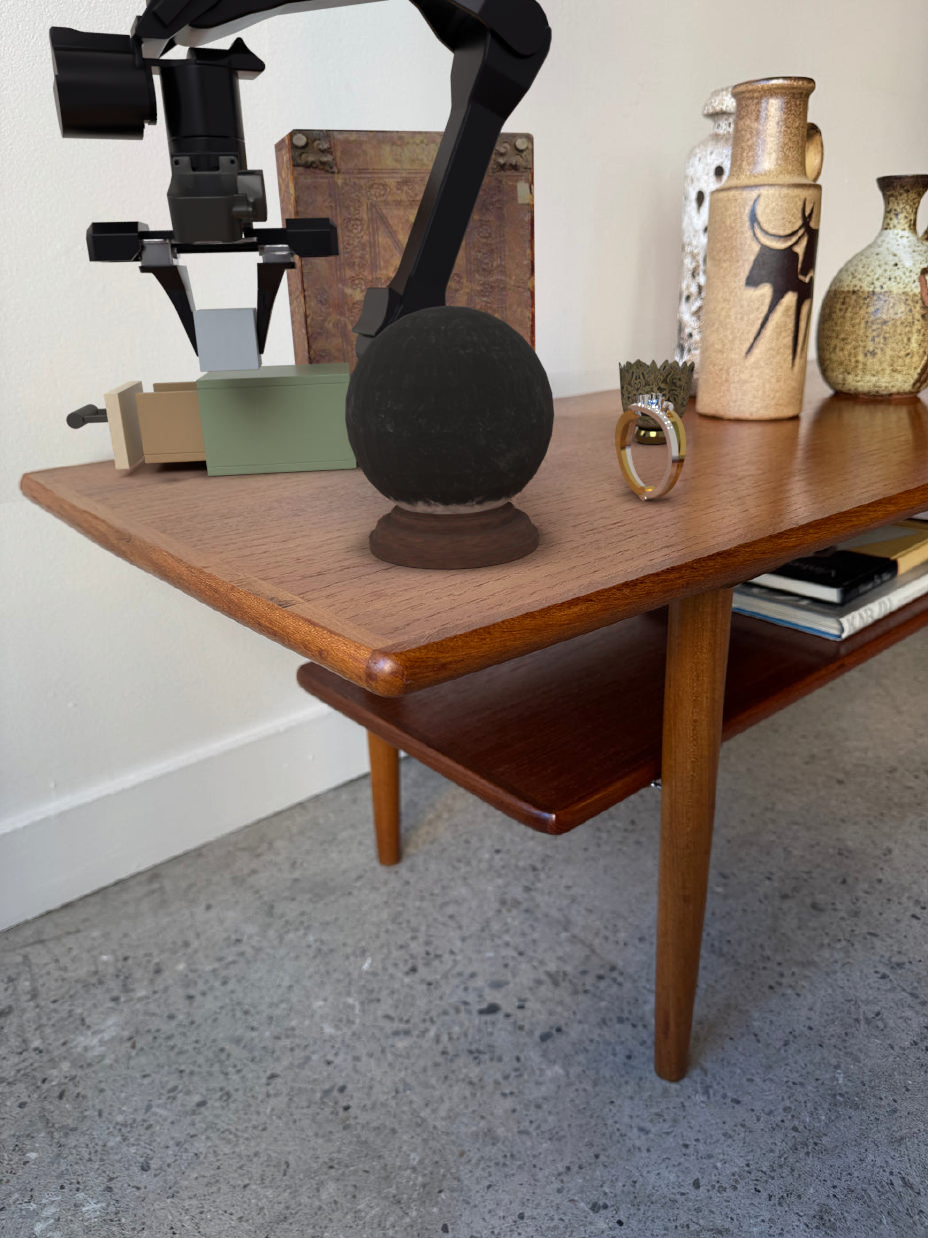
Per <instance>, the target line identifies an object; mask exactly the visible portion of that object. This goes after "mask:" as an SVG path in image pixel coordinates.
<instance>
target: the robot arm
mask: <svg viewBox="0 0 928 1238" xmlns="http://www.w3.org/2000/svg"><path fill="white" fill-rule="evenodd" d="M386 1H387V2H388V0H145V6H146V7H145V9H144V11H143V13H142V14H141V15H139V14H138V15H137V14H136V15H135V17H134V20H133V23H132V24H131V28H130V29H129V32H130V33H129V34H122V33H109V32H108V33H107V32H95V31H94V32H93V31H83V30H78V29H76V28H72V27H67V26H55V25H54V26H52V25H51V26H50V28H48V40H49V46H50V54H51V62H52V63H51V65H52V71H53V84H52V93H53V99H54V105H55V110H56V111H55V112H56V117H57V121H58V122H57V123H58V127H59V131H60V135H61V138H62V139H74V140H75V139H77V140H114V141H116V140H117V141H143V140H144V137H145V130H146V124H147V125H148V126H157V124H158V104H157V93H156V87H155V80H154V76H159V85H160V92H161V101H162V109H163V116H164V124H165V131H166V140H167V148H168V154H169V155H168V157H169V164H170V165H169V166H170V172H171V177H170V182H169V185H168V189H167V191H166V197H167V200H166V201H167V204H168V211H169V216H170V221H171V222H170V223H171V228H172V229H165V230H163V229H162V230H160V229H159V230H157V229H155V230H150V227H149V224H148V223H145V222H143V221H139V220H135V221H133V220H132V221H92V222H91V223H90V225H89V226H88V228H86V233H85V242H86V248H87V255H88V260H89V262H90V263H105V264H107V263H109V264H110V263H113V264H114V263H140V265H138V270H139V273H140V274H152V275H153V277H154V278H155V279H156V281H157V282H158V283H159V284H160V286H161V287H162V289H163V290H164V292H165V294H166V295H167V297H168V299H169V300H170V302H171V304H172V306H173V307H174V310H175V312H176V314H177V316H178V318H179V320H180V322H181V325H182V327H183V329H184V332H185V333H186V336H187V338H188V340H189V343H190V344H191V347H192V349H193V351H194V353H195V356H196V357H197V358H199V356H198V348H197V340H196V332H195V324H194V316H193V311H196V310H197V309H196V303H195V299H194V295H193V290H192V284H191V281H190V275H189V271H188V267H187V265H181V264H180V261H179V259H182V256H181V255H192V254H193V255H194V254H195V255H196V254H197V255H198V254H200V255H201V254H231V253H233V254H234V253H235V254H237V253H258V256H259V257H261V260H262V262H257V263H256V276H257V277H256V286H257V288H256V308H257V327H256V331H257V340H258V349H259V354H261V355H264V353H265V350H266V346H267V345H266V344H267V339H268V334H269V330H270V325H271V320H272V316H273V310H274V305H275V303H276V298H277V295H278V292H279V290H280V287H281V284H282V281H283V278H284V275H285V273H286V270H293V269H297V264H296V262H294V255H298V256H299V257H300V258H310V257H338V256H339V247H338V233H337V225H336V224H335V223H334V222H333V221H332V220H331V219H330V218H285V220H286V228H282V227H259V228H258V227H257V228H255V227H254V223H266V222H267V221H268V213H269V211H268V201H267V200H268V199H267V192H266V184H265V179H264V178H265V176H264V170H263V169H262V168H261V169H259V168H258V169H248V160H247V158H248V157H247V149H246V142H245V141H246V138H245V129H244V120H243V119H244V117H243V108H242V98H241V89H240V88H241V87H240V80H243V81H245V80H246V81H254V80H256V79H257V78H258V77H259V76H260V75H262V73H264V71H265V70H266V64H265V62H264V61H263V60H262V59H261V58H260V57H259V56H258V55H257V54H256V53H254V52H253V51H252V50H251V49H250V48H249V47H248V45H247V44H246V42H245V41H244V39H243V37H241V36H237V37H236V38H235V39H234V40H233V42H232V43H231V44H230V46H229V48H214V47H213V48H212V47H202V46H205V45H208V44H210V43H213V42H215V41H218V40H220V39H223V38H226V37H228V36H233V35H235V34H237V33H239V32H241V31H243V30H245V29H248V28H250V27H251V26H254V25H256V24H258V23H260V22H261V23H262V22H263V21H266V20H268V19H271V18H274V17H277V16H282V15H283V16H284V15H289V14H296V13H297V14H298V13H304V12H311V11H312V12H313V11H320V10H328V9H335V8H341V7H342V8H343V7H349V6H350V7H351V6H359V5H365V4H371V3H372V4H373V3H379V2H386ZM408 2H410V3H411V4H412V5H413V6H414V7H415V8H416V9H417V10H418V12H419V13H420V15H421V17H422V18H423V19H424V22H425V23H426V24H427V26H428V27H429V29H430V30H431V31H432V33H433V35H434V36H435V38H436V39H437V40H438V41H439V42H440V43H441V44H442V45H443V46H444V47H445V48H447V50H448V51H449V52H451V54H453V58H452V63H451V70H450V75H449V79H450V81H449V82H450V112H449V115H448V118H447V122H446V125H445V128H444V134H443V137H442V139H441V142H440V145H439V148H438V151H437V154H436V157H435V160H434V163H433V166H432V169H431V172H430V175H429V178H428V181H427V184H426V187H425V190H424V193H423V196H422V199H421V202H420V205H419V208H418V211H417V214H416V217H415V220H414V223H413V226H412V229H411V232H410V235H409V238H408V241H407V244H406V247H405V250H404V253H403V256H402V259H401V262H400V265H399V268H398V270H397V272H396V274H395V276H394V278H393V279H392V280H391V282H390V283H389V284H388V286H387V287H369V288H367V290H366V293H365V297H364V303H363V309H362V313H361V316H360V318H359V320H358V322H357V324H356V325H355V326H354V327H353V328H352V332H353V333H358V336H357V340H356V345H355V352H356V356H357V358H358V359H359V358H360V356H361V355H362V354H363V352H364V351H365V349H366V348H367V346H368V345H369V344H370V342H371V341H372V340H373V339H374V338H375V337H376V336H377V335H378V334H379V333H381V332H382V331H383V330H384V329H385V328H386V327H387V326H389V325H390V324H392V323H393V322H395V321H397V320H398V319H400V318H401V317H403V316H405V315H407V314H410V313H413V312H416V311H419V310H422V309H425V308H431V307H439V306H446V291H447V286H448V283H449V280H450V277H451V274H452V271H453V268H454V265H455V263H456V260H457V257H458V254H459V251H460V248H461V245H462V242H463V239H464V237H465V234H466V231H467V228H468V225H469V222H470V219H471V216H472V214H473V211H474V208H475V205H476V202H477V199H478V196H479V193H480V190H481V188H482V185H483V182H484V179H485V176H486V173H487V170H488V167H489V164H490V162H491V159H492V156H493V153H494V150H495V147H496V144H497V141H498V138H499V136H500V133H501V132H502V130H503V127H504V126H505V124H506V122H507V121H508V119H509V118H510V117H511V115H512V113H514V111H515V110H516V108H517V107H518V105H519V104H520V103H521V102H522V100H523V99H524V97H525V96H526V95H527V93H528V92H529V91H530V89H531V88H532V86H533V83H534V81H535V80H536V79H537V76H538V74H539V72H540V70H541V69H542V67H543V65H544V63H545V62H546V59H547V58H548V55H549V53H550V51H551V50H550V49H551V45H552V42H553V41H552V40H553V29H552V27H551V26H550V23H549V20H548V17H547V14H546V12H545V10H544V9H543V7H542V5H541V4H540V3H539V2H538V1H537V0H408ZM177 46H181V47H185V48H186V47H187V48H188V49H187V51H186V55H185V56H186V57H185V58H173V59H172V58H162V57H164V56H165V55H167V54H168V53H169V52H170V51H171V50H172V51H173V49H174V48H176V47H177Z"/></svg>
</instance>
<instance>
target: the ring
mask: <svg viewBox="0 0 928 1238" xmlns="http://www.w3.org/2000/svg"><path fill="white" fill-rule="evenodd" d="M661 397H662V394H660V393H658V394H657V395H656V400H655V393H651V394H649V396H648V394H645V395H643V402H642V395H638V396H636V397H635V403H634V404H632V405H630V406H628V408H629V410H628V411H626V412H623V413H621V415H620V416H619V418H618V419H617V422H616V425H615V434H614V442H615V451H616V456H617V461H618V464H619V465H618V466H619V468H620V470H621V473H622V476H623V478H624V480H625V482H626V484H627V485H628V487H629V488H630V489H631V490H632V492H634V493H635V494H636V495H638V497H639V499H640V500H641V501H650V500H651V501H652V500H655V498H661V497H664V496H666V495H667V494H669V493H670V492H671V491H672V490H673V489H674V487H675V485H676V484H677V482H678V480H679V479H680V475H681V473H682V471H683V467H684V463H685V459H686V452H687V436H686V430H685V429H686V428H685V427H684V424H683V421H682V418H681V419H680V418H679V416H678V415H677V414H676V413H675V412H674V411H673V407H674V406H673V404H672V403H670V402H667V401H664V399H665V398H661ZM649 398H650V400H649ZM663 408H665V409H664V410H663ZM641 416H648V417H653V418H654V419H655V420H656V421H657V422H658V423H659V424H660V426H661V427H662V429H663V431H664V434H665V437H666V441H667V442H666V445H667V464H666V465H667V466H666V470H665V472H664V476H663V477H662V480H661V482H660V483H659V484H658V485H657V486H656V487H655V486H654V485H651V484H650V485H646V484H644V483H643V481H642V480H641V479H640V477H639V475H638V474H637V472H636V469H635V466H634V462H633V457H632V440H633V435H634V432H635V429H636V428H635V427H636V426H635V425H636V423H637V421H638V420H639V418H640V417H641Z"/></svg>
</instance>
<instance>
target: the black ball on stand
mask: <svg viewBox="0 0 928 1238" xmlns="http://www.w3.org/2000/svg"><path fill="white" fill-rule="evenodd" d="M536 352H537V351H536V350H535V351H534V350H533V349H532V347H531V346H530V345H529V344H528V343H527V341H526V340H525V339H524V338H523V336H522V335H520V334H519V333H518V332H517V331H516V330H514V329H513V328H512V327H511V326H509V325H508V324H507V323H506V322H504V321H502V320H500V319H498V318H496V317H494V316H493V315H491V314H489V313H486V312H483V311H479V310H475V309H472V308H468V307H461V306H439V307H431V308H425V309H422V310H419V311H416V312H413V313H410V314H407V315H405V316H403V317H401V318H400V319H398V320H397V321H395V322H393V323H392V324H390V325H389V326H387V327H386V328H385V329H384V330H383V331H382V332H381V333H379V334H378V335H377V336H376V337H375V338H374V339H373V340H372V341H371V342H370V344H369V345H368V346H367V348H366V349H365V351H364V352H363V354H362V355H361V356H360V358H359V359H358V362H357V364H356V366H355V368H354V371H353V373H352V375H351V377H350V381H349V386H348V390H347V395H346V401H345V422H346V428H347V434H348V440H349V443H350V445H351V448H352V450H353V453H354V456H355V458H356V464H357V465H358V466H359V468H360V470H361V471H362V473H363V474H364V476H365V478H366V479H367V481H368V482H369V483H370V484H371V485H372V486H373V487H374V488H375V489H376V490H377V492H379V493H380V494H381V496H383V497H385V498H386V499H388V500H389V501H390V502H392V503H394V504H395V506H393V507H392V509H391V510H390V512H388V513H386V514H384V515H382V516H381V517H380V518H378V520H377V522H376V525H375V528H374V529H372V531H370V533H369V535H368V542H369V543H368V544H369V551H370V553H371V554H372V555H373V556H374V557H376V558H378V559H379V560H382V561H384V562H387V563H390V564H393V565H398V566H404V567H408V568H419V569H433V570H458V569H459V570H460V569H462V570H463V569H472V568H482V567H488V566H495V565H499V564H503V563H508V562H512V561H515V560H518V559H522V558H523V557H526V556H528V555H529V554H531V553H533V552H534V551H535V550H536V549H537V547H538V546H539V528H538V527H537V526H536V525H535V524H534V523H532V519H531V518H530V516H529V514H528V513H526V512H525V511H523V510H522V509H520V508H516V506H515V505H514V503H512V502H511V500H512V499H513V498H515V497H516V496H517V495H519V494H520V493H521V492H522V491H523V490H524V489H525V487H526V486H527V485H528V484H529V483H530V482H531V480H532V479H533V478H534V476H535V475H536V474H537V472H538V471H539V468H540V467H541V466H542V463H543V462H544V460H545V457H546V455H547V453H548V449H549V446H550V443H551V440H552V437H553V430H554V421H555V409H554V408H555V406H554V397H553V391H552V387H551V384H550V381H549V377H548V374H547V371H546V369H545V367H544V365H543V364H542V362H541V360H540V357H539V356H538V353H536Z"/></svg>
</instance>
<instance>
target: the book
mask: <svg viewBox="0 0 928 1238" xmlns="http://www.w3.org/2000/svg"><path fill="white" fill-rule="evenodd" d="M444 131H445V130H444ZM444 131H443V130H441V131H439V130H437V131H436V130H385V129H384V130H381V129H380V130H378V129H372V130H371V129H322V128H321V129H320V128H318V129H317V128H316V129H315V128H293V129H291V130H290V131H289V132H288V133H287V134H286V135H284V136H283V137H282V138H280V139H279V140H278V141H276V142H275V144H273V145H274V146H273V147H274V156H275V157H274V158H275V166H276V167H275V168H276V176H277V188H278V197H279V200H278V201H279V208H280V209H279V210H280V220H281V228H286V220H285V218H330V219H331V220H332V221H333V222H334V223H335V224H336V225H337V233H338V247H339V256H338V257H310V258H300V257H299V256H298V255H294V262H296V264H297V269H293V270H286V271H285V273H286V283H287V293H288V304H289V315H290V325H291V336H292V337H291V338H292V346H293V356H294V357H293V358H294V365H301V364H326V363H350V375H352V373H353V371H354V368H355V366H356V364H357V362H358V358H357V356H356V352H355V345H356V340H357V336H358V333H353V332H352V328H353V327H354V326H355V325H356V324H357V322H358V320H359V318H360V316H361V313H362V309H363V303H364V297H365V293H366V290H367V288H369V287H387V286H388V284H389V283H390V282H391V280H392V279H393V278H394V276H395V274H396V272H397V270H398V268H399V265H400V262H401V259H402V256H403V253H404V250H405V247H406V244H407V241H408V238H409V235H410V232H411V229H412V226H413V223H414V220H415V217H416V214H417V211H418V208H419V205H420V202H421V199H422V196H423V193H424V190H425V187H426V184H427V181H428V178H429V175H430V172H431V169H432V166H433V163H434V160H435V157H436V154H437V151H438V148H439V145H440V142H441V139H442V137H443V134H444ZM534 139H535V138H534V135H533V134H532V133H530V132H507V131H505V132H504V131H503V132H502V131H501V133H500V136H499V138H498V141H497V144H496V147H495V150H494V153H493V156H492V159H491V162H490V164H489V167H488V170H487V173H486V176H485V179H484V182H483V185H482V188H481V190H480V193H479V196H478V199H477V202H476V205H475V208H474V211H473V214H472V216H471V219H470V222H469V225H468V228H467V231H466V234H465V237H464V239H463V242H462V245H461V248H460V251H459V254H458V257H457V260H456V263H455V265H454V268H453V271H452V274H451V277H450V280H449V283H448V286H447V291H446V306H461V307H468V308H472V309H475V310H479V311H483V312H486V313H489V314H491V315H493V316H494V317H496V318H498V319H500V320H502V321H504V322H506V323H507V324H508V325H509V326H511V327H512V328H513V329H514V330H516V331H517V332H518V333H519V334H520V335H522V336H523V338H524V339H525V340H526V341H527V343H528V344H529V345H530V346H531V347H532V349H533V350H534V351H535V352H536V265H535V264H536V256H535V255H536V252H535V250H536V249H535V248H536V247H535V245H536V244H535V236H536V235H535V141H534Z"/></svg>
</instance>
